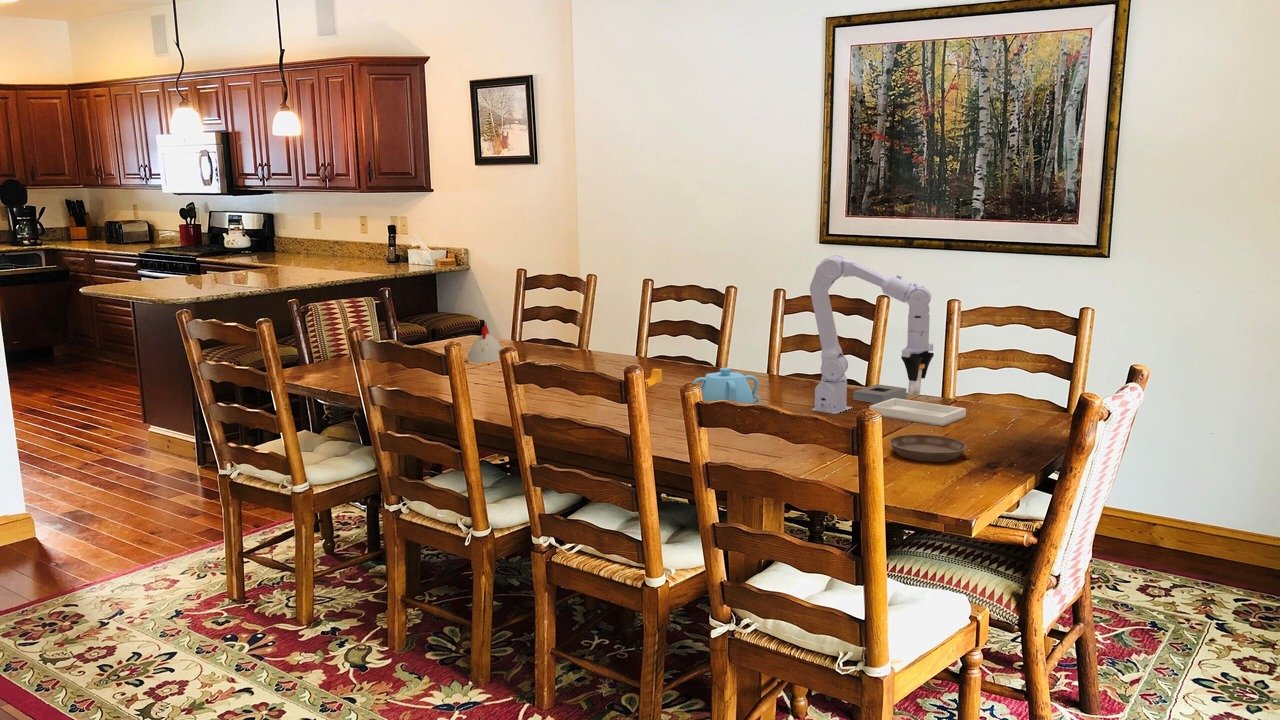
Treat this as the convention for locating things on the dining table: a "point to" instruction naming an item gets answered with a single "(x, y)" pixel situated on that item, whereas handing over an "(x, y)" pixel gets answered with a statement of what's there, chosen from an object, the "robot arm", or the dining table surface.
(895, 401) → the tray
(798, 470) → the dining table surface
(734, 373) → the decorative pot
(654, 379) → the pipe clamp
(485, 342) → the kitchen timer
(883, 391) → the block
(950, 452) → the plant saucer
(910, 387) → the gold capped clear cylinder
